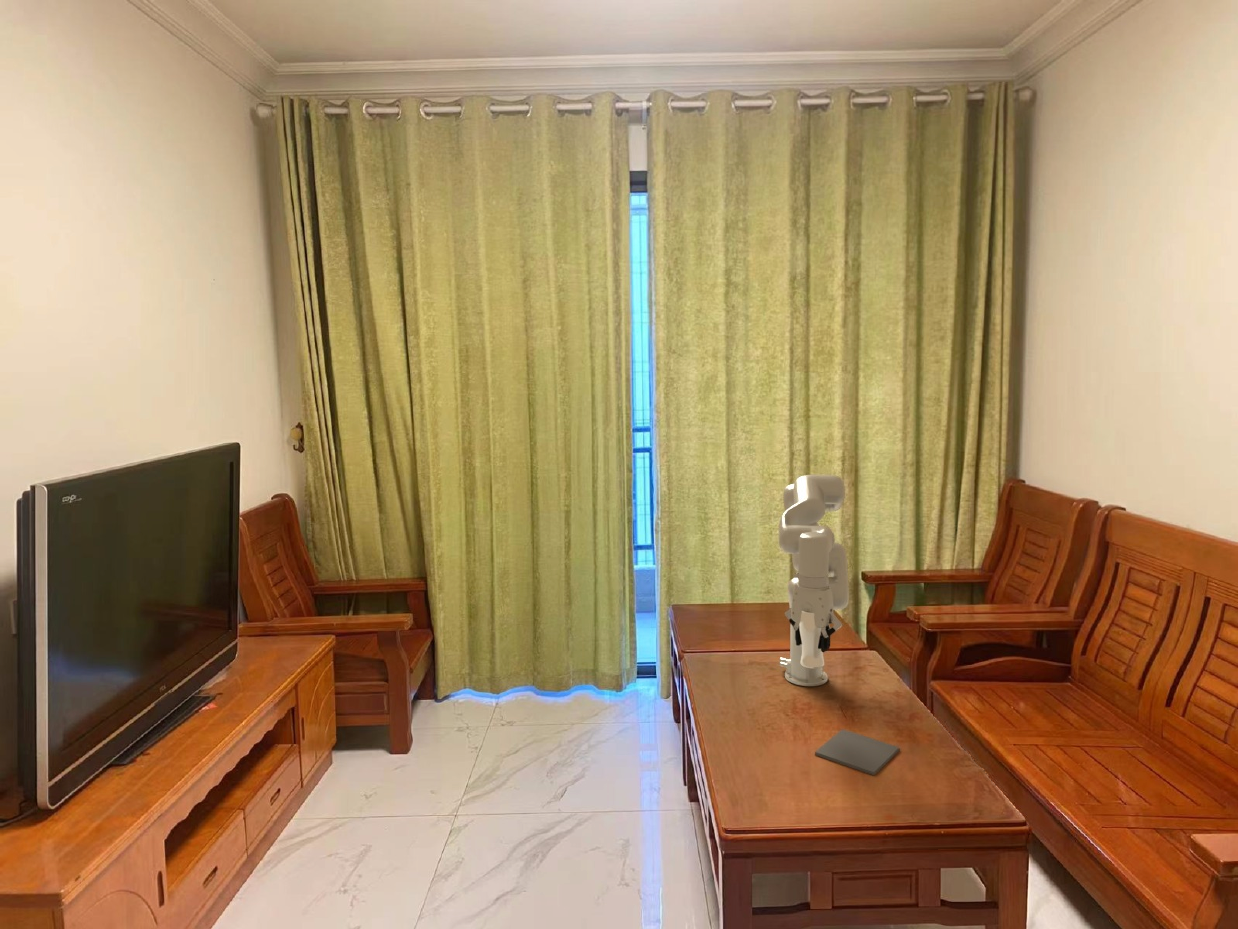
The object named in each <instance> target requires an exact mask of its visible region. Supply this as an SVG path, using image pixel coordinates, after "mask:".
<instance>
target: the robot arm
mask: <svg viewBox="0 0 1238 929" xmlns="http://www.w3.org/2000/svg"><path fill="white" fill-rule="evenodd" d="M782 492H783V493H782V494H783V495H782V498H783V499H782V500H783V505H784V506H783V507H784V510H785V511H784V512H783V514H782V515H781V516H780V519H779V523H778V545H779V547H780V549H781V551H782V552H783V553H786V554H791V558H792V561H791V562H792V565H793V568H794V570H795V571H796V572H794V574H793V578H792V579H790V580H789V581H788V584H787V597H788V604H789V609H787V611H785V612H784V615H785V617H786V618H787V620H789V621H788V622H789V623H790V628H789V629H790V633H789V634H790V635H789V636H790V637H789V638H790V639H789V640H790V641H789V642H790V643H789V644H790V647H789V650H790V652H789V653H790V655H789V656H790V657H789V659H788V658H785V657H780V658H779V665H778V666H779V667H782V668H786V670H785V672H784V677H785V679H786V681H788V682H790V683H791V684H793V685H797V686H802V687H818V686H822V685H824V684H826V683H827V682H828V679H829V678H828V674H827V673H826V672H825V671H824V670H823V667H821V668H815V669H813V668H807V667H804V666H802V665H801V664H800V661H801V656H802V645H801V639H800V633H799V623H800V620H801V610H803V611H806V612H811V613H814V621H815V626H816V627H818V628H822V634H823V637H821V651H822V652H823V653H825V652H827V651H828V650H829V649H830V647H831V636H832V635H833V634H834V633H836V632H837V631H838V630H839V629H841V627H842V626H843V624H842V622H841V620H839V618H838V617H837V616H836V615H835V614H834V610H838V611H839V610H844V609H845V608H847V606H848V604H849V596H850V595H849V593H850V592H849V576H848V575H849V574H848V558H847V557H848V556H847V551H846V549H845V546H844V545H842V544H841V543H839V542H835V541H836V540H835V539H836V538H835V533H834V532H833V530H832V529H831V528H830V527H828V526H826V525H820V524H819V523H818V522H820V521H821V520H822V519H823V518H824V517H825V514H826V512H836V511H839V510H840V509H841V508H842V506H843V504H844V501H845V498H846V486H845V484H844V481H843V479H842V478H841V477H840V476H839V475H834V474H807V475H806V474H805V475H801V476H800V477H798V478H797V479H796V480H795V481H794V483H791V484H788V485H787V486H785V487H784V489H783V491H782ZM829 575H830V576H829ZM831 624H833V626H832V627H831Z"/></svg>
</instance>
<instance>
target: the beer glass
mask: <svg viewBox="0 0 1238 929" xmlns="http://www.w3.org/2000/svg"><path fill="white" fill-rule="evenodd" d="M799 633H800V639H801V645H802V656H801V661H800V664H801V665H802V666H804V667H807V668H813V669H815V668H821V667H822V668H823V667H824V666H825V660H824V652H822V651H821V637H823V634H822V628H818V627H816V626H815V621H814V613H811V612H806V611H803V610H801V620H800V623H799Z"/></svg>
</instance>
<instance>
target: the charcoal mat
mask: <svg viewBox="0 0 1238 929" xmlns="http://www.w3.org/2000/svg"><path fill="white" fill-rule="evenodd" d="M898 752H900V746H896V745H894V744H890V743H888V742H885V741H882V740H878V739H876V738H872V737H868V736H866V735H862V734H859V733H856V732H853V731H850V730H847V729H840V730H839V731H838V732H837V733H836V734H835V735H833V736H832V737H831V738H830V739H829V740H827V741H826V742H825V743H824V744H823V745H822V746H820V747H819V748H817V749H816V751H815V750H814V755H815V756H817V757H819V758H820V757H821V758H823V759H826V760H829V761H831V762H834V763H837V764H840V765H843V766H846V767H849V768H851V769H854V770H857V771H860V772H863V773H866V774H868V775H872V776H875V775H876V774H877V773H878V772H879V771H880V770H881V769H882V768H883V767H884V766H885V765H887V764H888V762H889V761H891V759H892V758H893V757H895V755H896V754H898Z"/></svg>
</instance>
